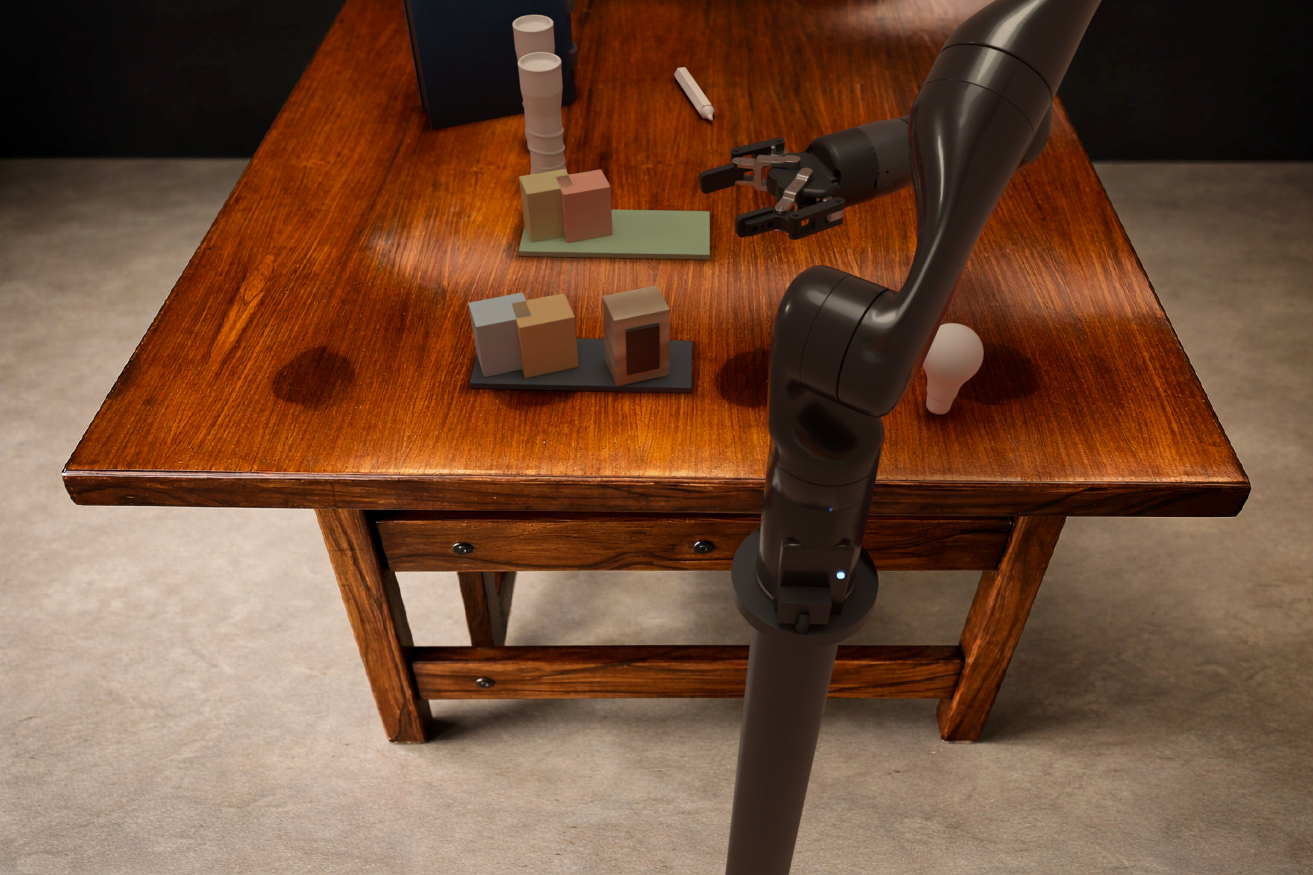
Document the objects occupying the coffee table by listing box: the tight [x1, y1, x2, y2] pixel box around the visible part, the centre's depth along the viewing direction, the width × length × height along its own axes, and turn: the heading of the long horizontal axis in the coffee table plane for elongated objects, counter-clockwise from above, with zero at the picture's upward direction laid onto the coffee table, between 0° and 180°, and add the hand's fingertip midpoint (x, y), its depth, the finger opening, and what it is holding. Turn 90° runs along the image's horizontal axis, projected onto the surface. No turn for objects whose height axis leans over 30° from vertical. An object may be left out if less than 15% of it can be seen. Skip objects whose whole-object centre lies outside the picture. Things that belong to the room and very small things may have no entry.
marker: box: [673, 66, 716, 122], centre depth 157 cm, size 3×2×16 cm
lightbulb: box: [922, 322, 985, 415], centre depth 104 cm, size 6×6×11 cm
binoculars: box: [512, 15, 568, 175], centre depth 138 cm, size 17×5×18 cm, turn 9°
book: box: [402, 0, 579, 131], centre depth 148 cm, size 24×9×30 cm, turn 111°
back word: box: [518, 168, 711, 261], centre depth 129 cm, size 10×24×8 cm, turn 88°
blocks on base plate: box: [467, 292, 693, 394], centre depth 111 cm, size 8×24×8 cm, turn 88°
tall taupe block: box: [602, 285, 671, 386], centre depth 109 cm, size 5×6×9 cm
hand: (718, 205), depth 100 cm, fingers open, 8 cm apart
